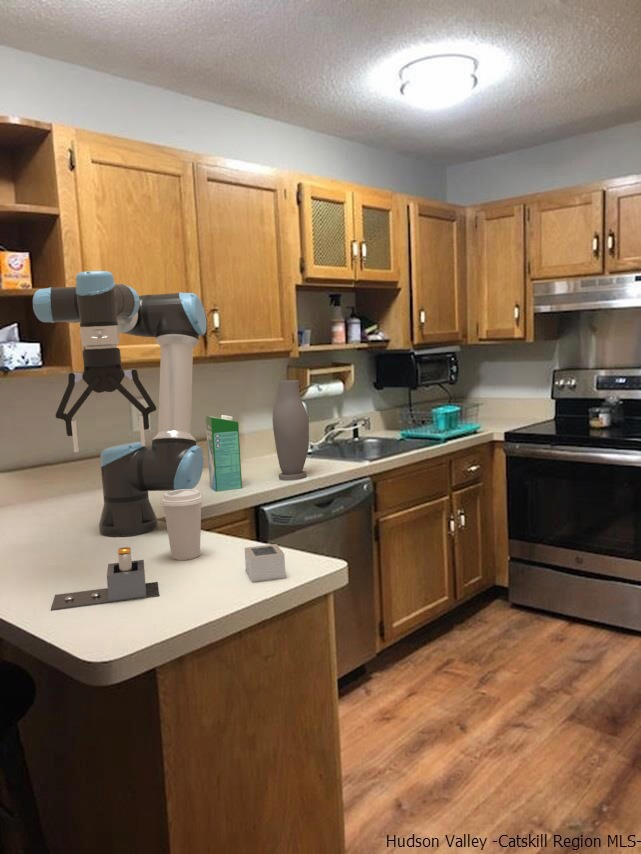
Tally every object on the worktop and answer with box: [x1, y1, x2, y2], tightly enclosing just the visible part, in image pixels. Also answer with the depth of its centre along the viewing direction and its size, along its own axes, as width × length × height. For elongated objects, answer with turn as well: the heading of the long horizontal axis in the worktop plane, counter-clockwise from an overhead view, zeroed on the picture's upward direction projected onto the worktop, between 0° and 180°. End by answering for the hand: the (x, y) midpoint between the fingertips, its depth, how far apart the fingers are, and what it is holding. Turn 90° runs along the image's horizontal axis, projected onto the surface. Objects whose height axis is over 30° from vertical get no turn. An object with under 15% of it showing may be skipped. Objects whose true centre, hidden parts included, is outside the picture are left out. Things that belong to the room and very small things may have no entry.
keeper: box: [50, 546, 160, 611], centre depth 138 cm, size 8×20×9 cm, turn 105°
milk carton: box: [205, 414, 243, 492], centre depth 238 cm, size 9×9×25 cm
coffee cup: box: [160, 488, 204, 561], centre depth 162 cm, size 10×10×15 cm
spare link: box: [244, 543, 286, 583], centre depth 147 cm, size 8×7×5 cm
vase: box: [272, 379, 310, 481], centre depth 250 cm, size 13×13×35 cm
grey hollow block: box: [106, 559, 147, 601], centre depth 139 cm, size 8×7×5 cm
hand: (110, 448), depth 148 cm, fingers open, 13 cm apart
